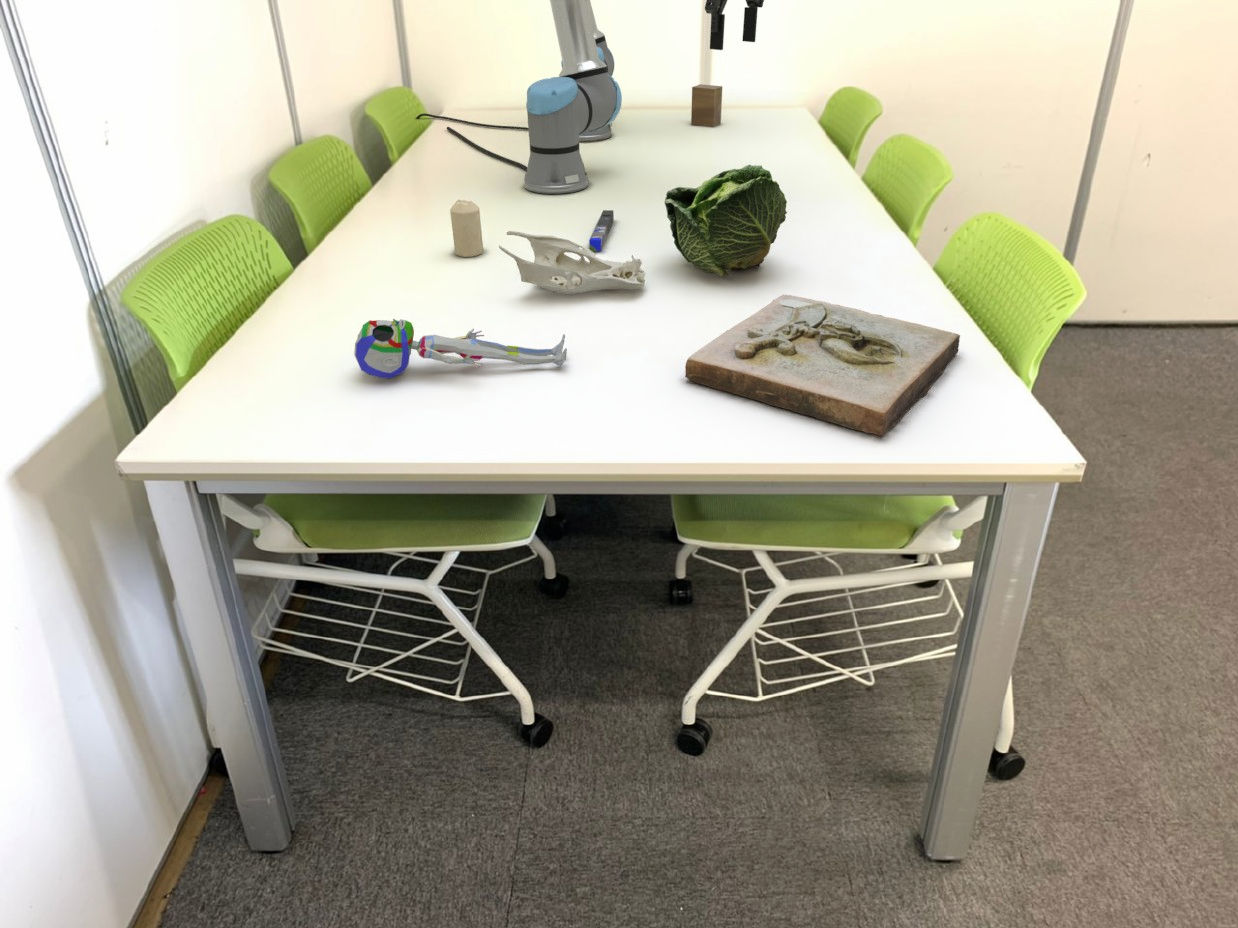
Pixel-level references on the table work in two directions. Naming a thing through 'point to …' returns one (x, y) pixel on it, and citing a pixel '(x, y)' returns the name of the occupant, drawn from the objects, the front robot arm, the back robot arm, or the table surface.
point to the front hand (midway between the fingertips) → (732, 45)
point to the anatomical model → (574, 267)
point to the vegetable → (727, 219)
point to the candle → (466, 228)
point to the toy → (435, 349)
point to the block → (706, 105)
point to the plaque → (827, 362)
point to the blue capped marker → (601, 230)
